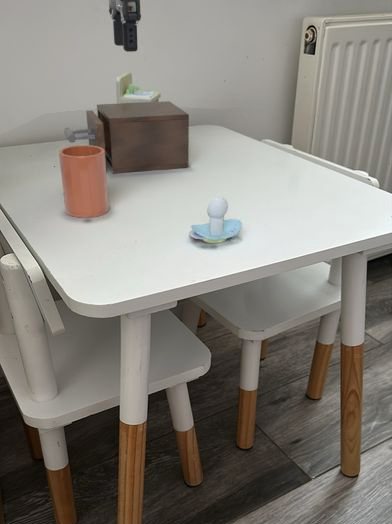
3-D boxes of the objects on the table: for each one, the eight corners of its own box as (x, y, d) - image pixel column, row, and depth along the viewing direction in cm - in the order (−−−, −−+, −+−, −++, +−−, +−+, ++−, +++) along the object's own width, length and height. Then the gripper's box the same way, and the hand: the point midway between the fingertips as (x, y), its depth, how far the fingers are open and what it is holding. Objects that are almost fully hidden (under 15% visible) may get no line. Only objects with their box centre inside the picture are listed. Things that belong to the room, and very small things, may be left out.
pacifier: (180, 235, 80) (199, 249, 75) (180, 191, 76) (199, 204, 72) (225, 227, 82) (246, 240, 78) (227, 184, 79) (248, 196, 75)
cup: (59, 215, 85) (51, 155, 80) (75, 201, 90) (69, 143, 85) (100, 219, 84) (95, 158, 79) (114, 204, 89) (110, 146, 84)
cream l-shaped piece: (152, 147, 118) (150, 79, 111) (119, 144, 120) (115, 77, 112) (162, 137, 125) (161, 73, 118) (130, 135, 126) (127, 71, 119)
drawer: (73, 170, 101) (68, 125, 96) (64, 154, 110) (60, 111, 105) (171, 163, 106) (170, 119, 101) (155, 147, 115) (154, 107, 110)
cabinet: (113, 173, 103) (109, 118, 97) (100, 155, 112) (96, 104, 107) (188, 167, 107) (188, 114, 101) (170, 150, 116) (169, 101, 111)
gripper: (89, -71, 89) (97, 44, 99) (103, -77, 78) (110, 53, 87) (135, -69, 91) (138, 43, 100) (155, -74, 80) (157, 53, 89)
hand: (125, 48), depth 94 cm, fingers open, 8 cm apart
